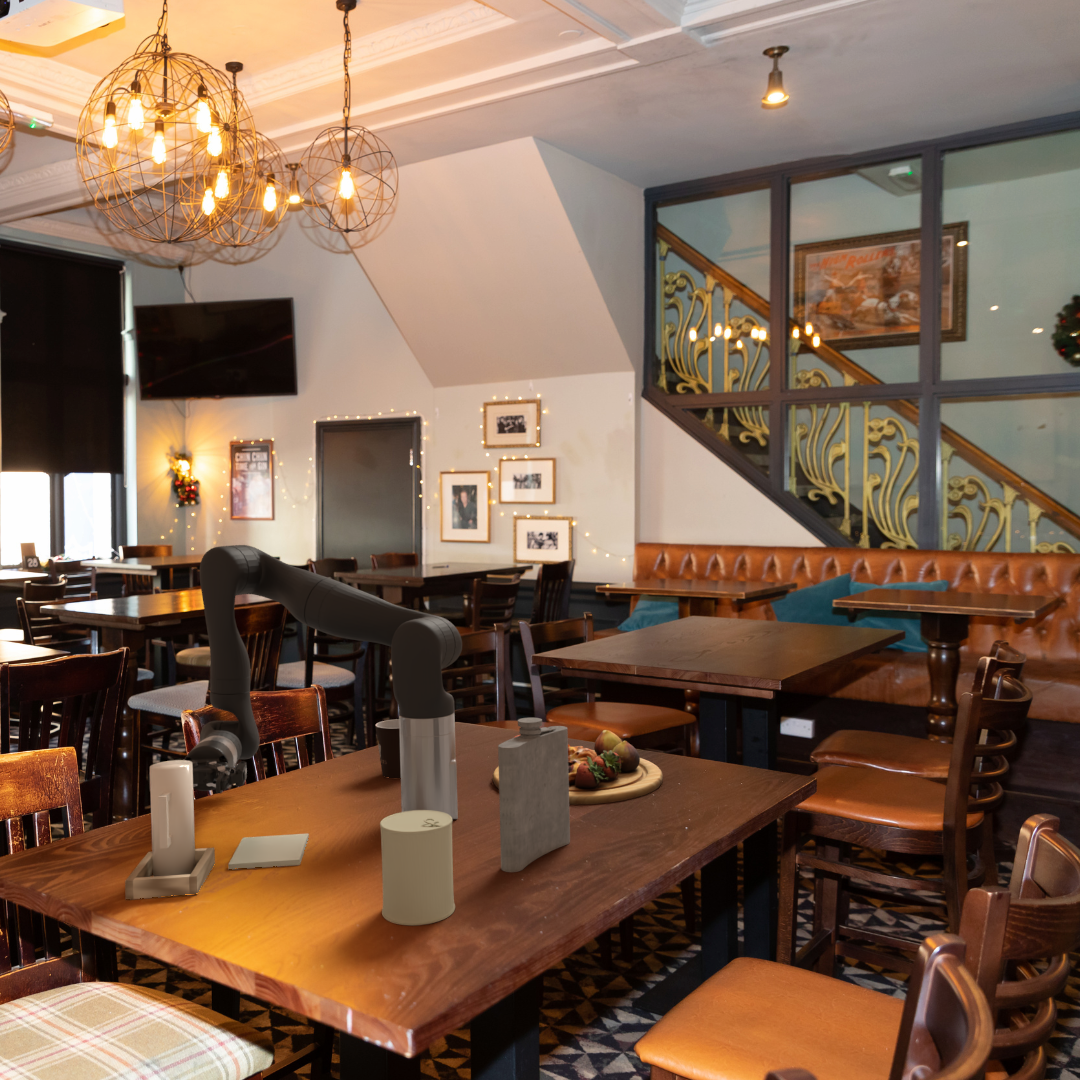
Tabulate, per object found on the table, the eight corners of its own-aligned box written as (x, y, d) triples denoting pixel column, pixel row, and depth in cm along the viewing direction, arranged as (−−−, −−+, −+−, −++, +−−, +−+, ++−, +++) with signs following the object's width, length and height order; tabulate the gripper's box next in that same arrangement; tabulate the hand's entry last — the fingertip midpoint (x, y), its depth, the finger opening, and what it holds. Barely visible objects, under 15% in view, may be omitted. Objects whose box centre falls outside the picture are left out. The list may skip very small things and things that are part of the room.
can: (424, 931, 118) (421, 832, 117) (366, 916, 123) (364, 821, 122) (469, 905, 125) (467, 812, 125) (413, 892, 130) (411, 802, 130)
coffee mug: (412, 781, 186) (411, 728, 186) (370, 779, 188) (368, 727, 188) (431, 765, 198) (430, 716, 198) (391, 764, 200) (389, 715, 199)
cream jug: (199, 869, 141) (196, 759, 140) (186, 890, 133) (183, 773, 132) (158, 872, 140) (155, 761, 140) (143, 893, 132) (139, 775, 132)
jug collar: (214, 864, 143) (214, 847, 143) (197, 894, 131) (196, 876, 131) (149, 868, 141) (148, 851, 141) (125, 899, 130) (125, 881, 130)
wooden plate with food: (458, 783, 186) (457, 740, 185) (578, 751, 207) (577, 712, 207) (575, 822, 162) (575, 773, 162) (697, 782, 183) (697, 738, 183)
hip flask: (515, 873, 136) (511, 730, 136) (491, 868, 138) (488, 728, 138) (573, 840, 150) (570, 710, 149) (551, 836, 152) (548, 708, 151)
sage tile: (308, 838, 154) (308, 833, 154) (299, 865, 142) (299, 859, 142) (243, 842, 152) (242, 837, 152) (228, 869, 140) (228, 864, 140)
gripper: (166, 741, 163) (139, 766, 147) (254, 738, 165) (237, 761, 149) (167, 786, 164) (140, 815, 148) (255, 782, 165) (238, 810, 149)
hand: (189, 788), depth 148 cm, fingers open, 8 cm apart
